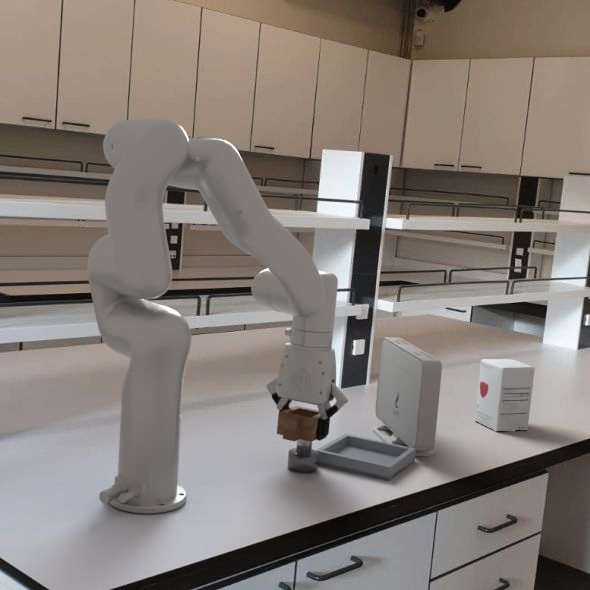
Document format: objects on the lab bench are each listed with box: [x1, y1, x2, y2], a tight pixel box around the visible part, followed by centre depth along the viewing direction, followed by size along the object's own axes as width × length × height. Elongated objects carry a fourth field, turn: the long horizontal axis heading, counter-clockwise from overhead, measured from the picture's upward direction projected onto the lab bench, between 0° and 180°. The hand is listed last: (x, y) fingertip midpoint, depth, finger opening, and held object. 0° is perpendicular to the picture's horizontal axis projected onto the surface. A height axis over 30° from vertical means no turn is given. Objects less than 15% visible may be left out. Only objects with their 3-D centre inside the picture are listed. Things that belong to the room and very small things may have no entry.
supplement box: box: [474, 358, 536, 432], centre depth 199 cm, size 9×9×15 cm
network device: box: [372, 336, 443, 457], centre depth 181 cm, size 26×9×20 cm, turn 13°
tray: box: [314, 433, 417, 481], centre depth 166 cm, size 14×15×2 cm
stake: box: [287, 439, 319, 474], centre depth 160 cm, size 6×6×8 cm
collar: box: [276, 405, 321, 443], centre depth 158 cm, size 9×7×4 cm
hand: (302, 433), depth 159 cm, fingers closed on collar, 7 cm apart
